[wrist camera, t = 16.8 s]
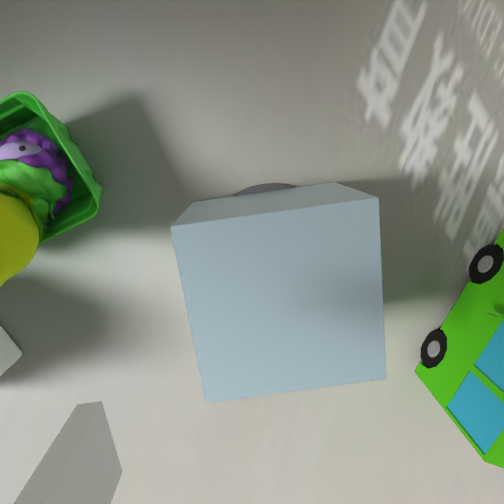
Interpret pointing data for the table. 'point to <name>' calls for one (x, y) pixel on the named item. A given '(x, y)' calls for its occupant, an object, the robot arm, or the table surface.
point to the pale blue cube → (283, 290)
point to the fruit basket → (38, 181)
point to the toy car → (473, 357)
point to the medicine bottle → (7, 351)
